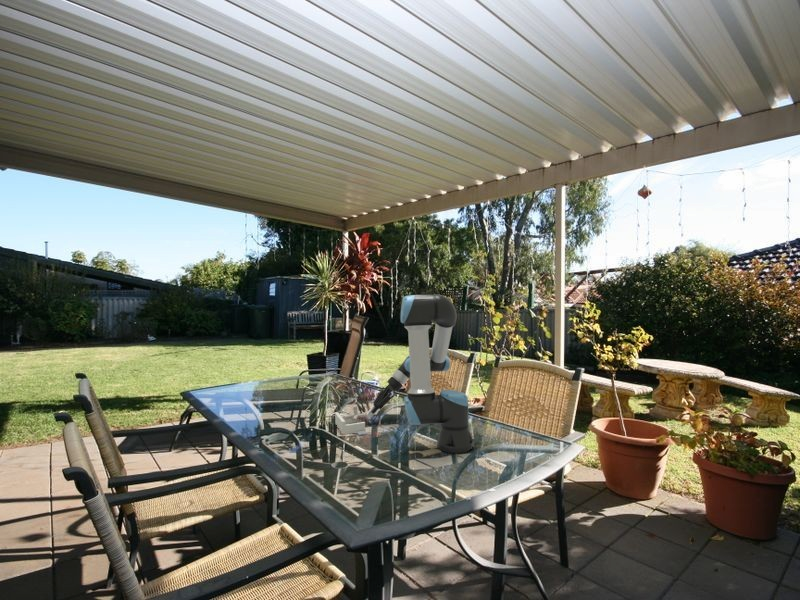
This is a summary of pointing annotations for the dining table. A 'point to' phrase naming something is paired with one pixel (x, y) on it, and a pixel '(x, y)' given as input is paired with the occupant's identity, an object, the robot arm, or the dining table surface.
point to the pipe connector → (356, 415)
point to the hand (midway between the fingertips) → (367, 417)
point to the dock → (349, 425)
